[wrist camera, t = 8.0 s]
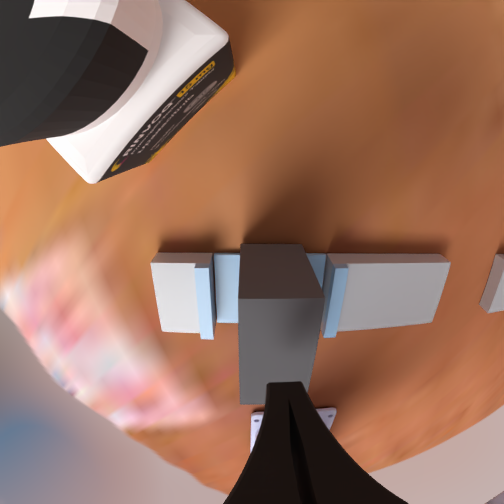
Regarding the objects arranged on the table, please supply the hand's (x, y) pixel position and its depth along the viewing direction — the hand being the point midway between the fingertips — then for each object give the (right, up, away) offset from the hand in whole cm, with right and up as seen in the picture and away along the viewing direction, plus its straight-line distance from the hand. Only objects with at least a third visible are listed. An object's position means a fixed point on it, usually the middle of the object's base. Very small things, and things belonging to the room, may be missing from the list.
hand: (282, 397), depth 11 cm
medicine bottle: (-7, +16, +3) cm, 17 cm away
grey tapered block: (0, +3, +8) cm, 9 cm away
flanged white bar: (+8, +3, +8) cm, 12 cm away
